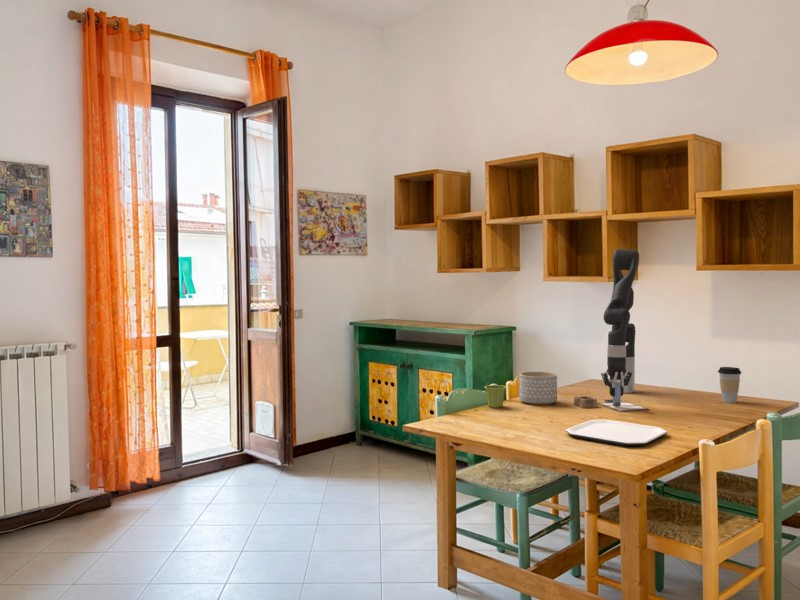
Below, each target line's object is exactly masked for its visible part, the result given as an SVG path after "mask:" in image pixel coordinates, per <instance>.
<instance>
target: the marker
mask: <svg viewBox="0 0 800 600" xmlns="http://www.w3.org/2000/svg"><path fill="white" fill-rule="evenodd" d="M612 380H613V379H612ZM614 388H615V396H612V399H613V406H621V401H622V399H621V397H622V396H621V379H617V380H616V382H615V386H614Z"/></svg>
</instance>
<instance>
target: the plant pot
mask: <svg viewBox="0 0 800 600" xmlns="http://www.w3.org/2000/svg"><path fill="white" fill-rule="evenodd" d="M506 389H507V385H500V384H499V385H498V384H490V385H489V384H488V385H485V386H484V390H485V393H486V399H487V400H486V401H487V406H488V407H490V408H492V409H493V408H502V407H504V406H503V405H504V398H505V392H506Z"/></svg>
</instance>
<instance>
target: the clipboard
mask: <svg viewBox="0 0 800 600" xmlns="http://www.w3.org/2000/svg"><path fill="white" fill-rule="evenodd" d="M597 406H601V407H604V408H607V409H610V410H613V411H616V412H618V413H623V412H624V413H625V412H638V411H639V412H642V411H650V408H648V407H644V406H640V405H638V404H635V403H632V402H628V401H627V400H624V401H623V400H621V406H613V398H612V399H604V402H601V401H600V402H597Z"/></svg>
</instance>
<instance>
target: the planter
mask: <svg viewBox="0 0 800 600" xmlns="http://www.w3.org/2000/svg"><path fill="white" fill-rule="evenodd" d="M519 400H520V401H521V402H523V403H524V404H526V405H532V406H533V405H534V406H549V405H552V404H554V403H556V402H557V401H558V375H557V373H555V372H549V371H523V372H520V373H519Z"/></svg>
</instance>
